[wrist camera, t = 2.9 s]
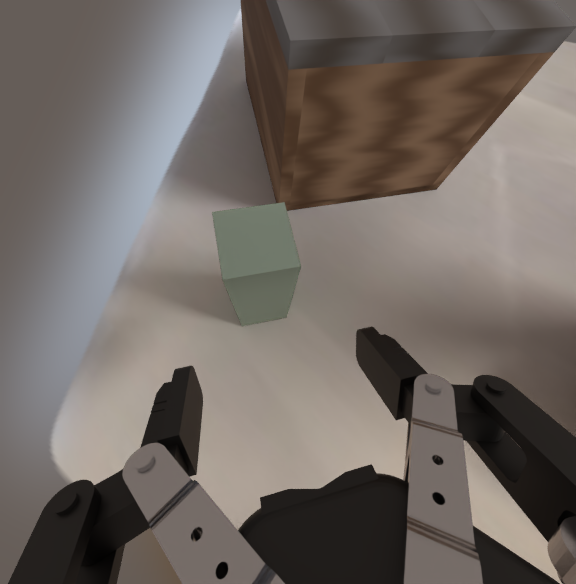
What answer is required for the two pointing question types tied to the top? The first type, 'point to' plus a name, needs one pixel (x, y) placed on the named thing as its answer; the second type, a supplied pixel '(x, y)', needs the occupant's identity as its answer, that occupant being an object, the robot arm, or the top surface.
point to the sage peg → (257, 260)
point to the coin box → (385, 87)
